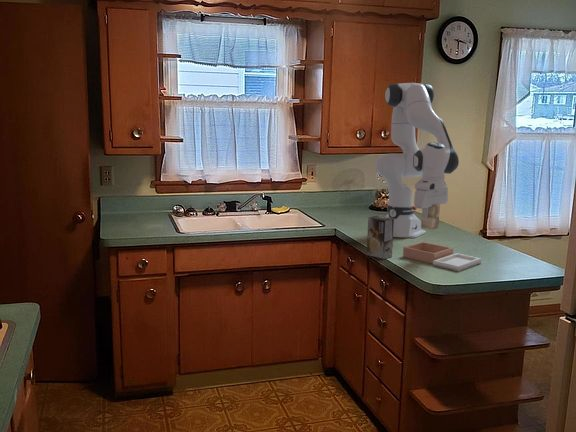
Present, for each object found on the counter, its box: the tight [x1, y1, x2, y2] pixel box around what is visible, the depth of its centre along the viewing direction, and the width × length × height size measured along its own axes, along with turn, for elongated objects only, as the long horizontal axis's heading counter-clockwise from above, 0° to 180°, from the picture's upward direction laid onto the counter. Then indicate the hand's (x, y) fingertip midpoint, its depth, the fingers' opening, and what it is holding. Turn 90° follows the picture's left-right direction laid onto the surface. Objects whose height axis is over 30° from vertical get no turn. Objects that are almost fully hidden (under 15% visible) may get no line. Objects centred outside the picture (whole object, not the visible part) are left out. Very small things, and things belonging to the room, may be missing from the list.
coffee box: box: [366, 215, 394, 260], centre depth 245 cm, size 9×6×16 cm
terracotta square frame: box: [402, 241, 454, 264], centre depth 246 cm, size 15×15×4 cm
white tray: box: [432, 252, 482, 272], centre depth 236 cm, size 18×11×2 cm, turn 135°
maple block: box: [421, 204, 441, 231], centre depth 243 cm, size 5×5×10 cm
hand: (430, 216), depth 243 cm, fingers closed on maple block, 5 cm apart
